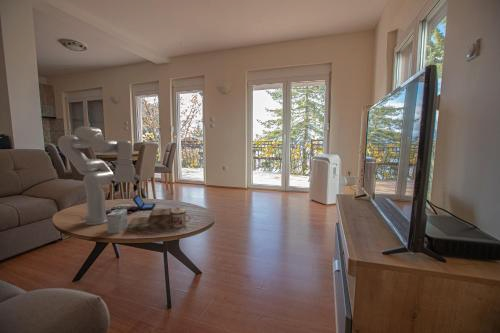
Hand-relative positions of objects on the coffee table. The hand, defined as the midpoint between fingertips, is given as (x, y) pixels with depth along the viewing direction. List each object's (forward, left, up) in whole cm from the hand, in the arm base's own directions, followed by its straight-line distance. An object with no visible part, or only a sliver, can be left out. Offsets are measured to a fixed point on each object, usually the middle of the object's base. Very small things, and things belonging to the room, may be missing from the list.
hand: (126, 191), depth 137 cm
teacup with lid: (+30, -4, -22) cm, 38 cm away
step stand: (+13, -5, -22) cm, 26 cm away
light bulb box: (-5, -3, -22) cm, 23 cm away
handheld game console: (+3, +41, -22) cm, 47 cm away
